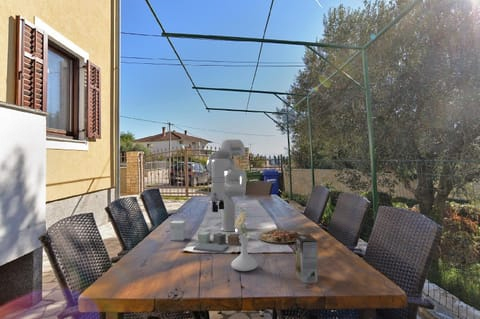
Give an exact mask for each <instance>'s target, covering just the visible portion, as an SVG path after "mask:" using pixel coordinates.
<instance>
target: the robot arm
mask: <svg viewBox="0 0 480 319" xmlns="http://www.w3.org/2000/svg"><path fill="white" fill-rule="evenodd" d="M245 147H246V146H245V145H244V143H243V141H242V140H241V139H225V140H223V141H222V142H221V145H220V147H219V150H218V149H217V150H216V151H214V152H212V153H211V154H210V155H209V156H208V158H207V161H206V169H207V171H209V172H211V187H210V188H211V190H210V200H211V205H212V206H211V210H212V212H213V213H219V210H221V211H220V214H221V223H220V224H221V226H219V228H218V229H219V231H222V232H235V228H236V227H234V226H235V224H236V223H235V221H236V202H235V200H234V199H233V198H242V197H244V196H245V195H246V190H247V189H246V188H247V173H246V170H245V169H243V168H237V162H236V161H235V159H234V158H232V157H244V156H245V155H246V148H245Z"/></svg>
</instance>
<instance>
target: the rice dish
mask: <svg viewBox="0 0 480 319" xmlns="http://www.w3.org/2000/svg"><path fill="white" fill-rule="evenodd" d="M298 234H304V233H302V232H300V231H297V230H296V231H295V230H282V229H281V228H276V229H272V230H269V231H264V232H262V233H260V234H259V235H258V236H257V237H258V239H259V240H261V241H264V242H268V243H277V244H288V243H293V242H294V243H295V235H298Z"/></svg>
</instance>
